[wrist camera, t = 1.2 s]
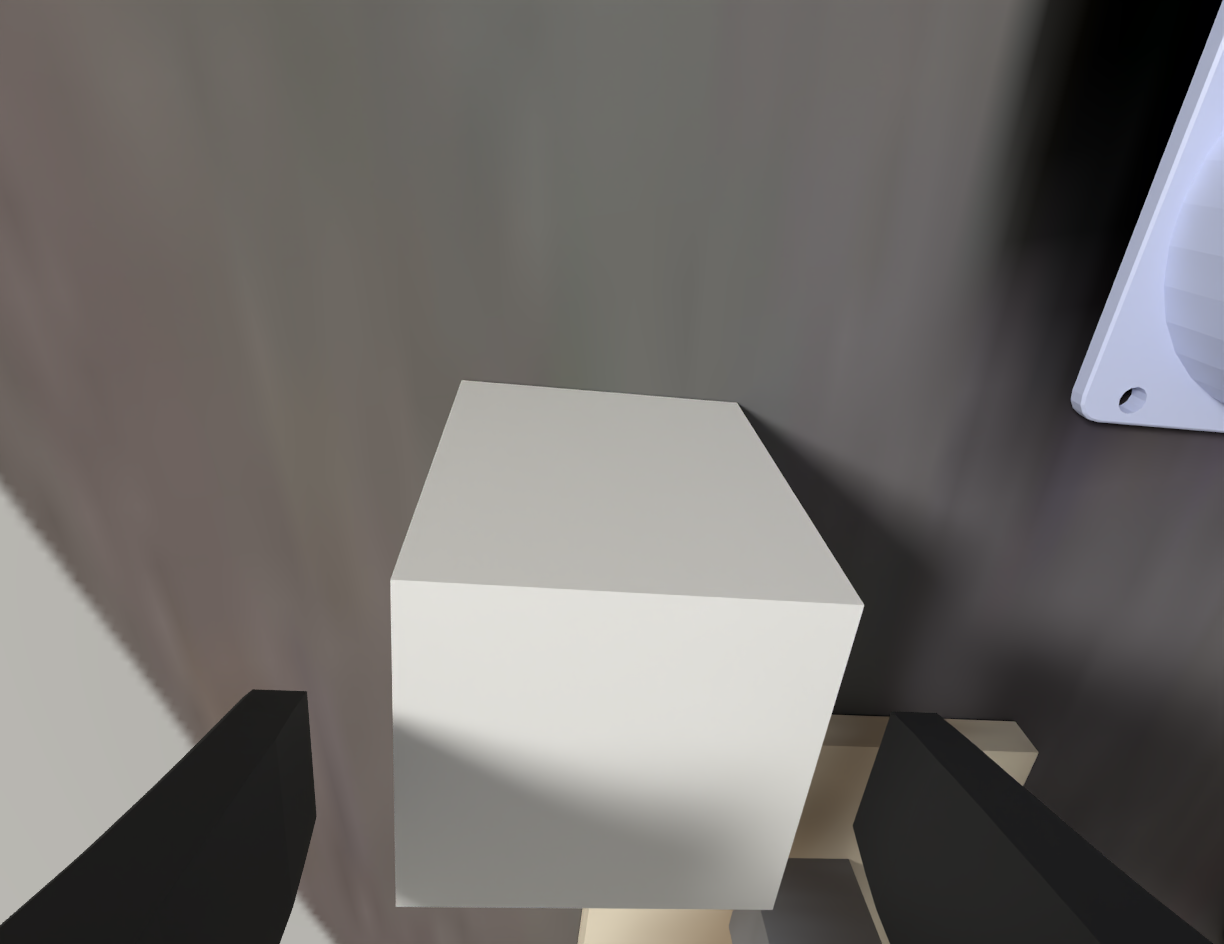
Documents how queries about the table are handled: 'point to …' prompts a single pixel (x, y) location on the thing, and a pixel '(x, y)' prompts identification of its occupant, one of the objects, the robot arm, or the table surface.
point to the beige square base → (811, 855)
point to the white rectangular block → (607, 657)
